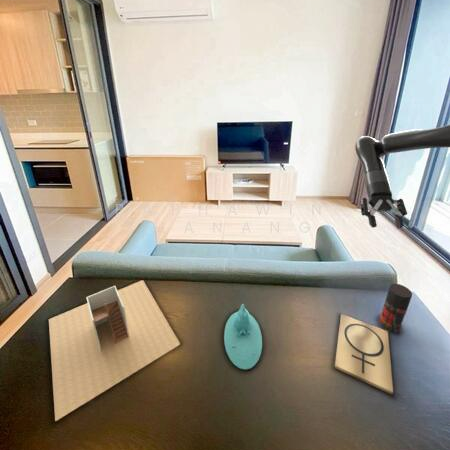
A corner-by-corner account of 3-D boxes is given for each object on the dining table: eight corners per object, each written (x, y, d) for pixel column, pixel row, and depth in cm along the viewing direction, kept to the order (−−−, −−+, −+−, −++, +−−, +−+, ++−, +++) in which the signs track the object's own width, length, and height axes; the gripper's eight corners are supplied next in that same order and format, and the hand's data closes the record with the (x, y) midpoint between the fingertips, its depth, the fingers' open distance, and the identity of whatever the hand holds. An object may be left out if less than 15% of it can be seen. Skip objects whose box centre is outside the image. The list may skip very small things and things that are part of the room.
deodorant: (379, 314, 87) (389, 281, 81) (399, 322, 84) (411, 288, 79) (379, 327, 82) (389, 292, 77) (400, 335, 79) (413, 300, 74)
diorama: (223, 369, 69) (223, 348, 66) (224, 311, 88) (224, 292, 85) (266, 369, 69) (268, 348, 66) (258, 311, 88) (259, 292, 85)
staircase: (100, 352, 74) (89, 310, 68) (93, 326, 82) (83, 287, 76) (129, 336, 79) (122, 296, 73) (120, 313, 87) (113, 275, 81)
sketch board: (387, 333, 80) (388, 330, 80) (392, 394, 64) (393, 392, 63) (340, 316, 86) (341, 313, 86) (334, 367, 70) (335, 365, 69)
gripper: (362, 179, 87) (371, 223, 81) (403, 180, 86) (416, 225, 80) (353, 188, 94) (360, 229, 87) (391, 189, 93) (401, 231, 87)
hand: (387, 227), depth 84 cm, fingers open, 8 cm apart
